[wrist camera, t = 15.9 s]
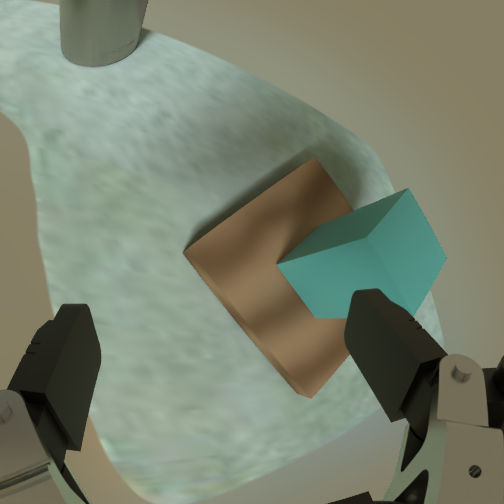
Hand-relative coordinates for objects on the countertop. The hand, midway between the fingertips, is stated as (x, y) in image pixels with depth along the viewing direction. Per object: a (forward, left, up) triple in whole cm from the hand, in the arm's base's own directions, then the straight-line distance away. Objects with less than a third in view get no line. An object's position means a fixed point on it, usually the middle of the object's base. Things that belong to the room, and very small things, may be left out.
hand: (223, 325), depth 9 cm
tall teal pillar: (+6, +13, -15) cm, 20 cm away
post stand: (+6, +13, -17) cm, 22 cm away
